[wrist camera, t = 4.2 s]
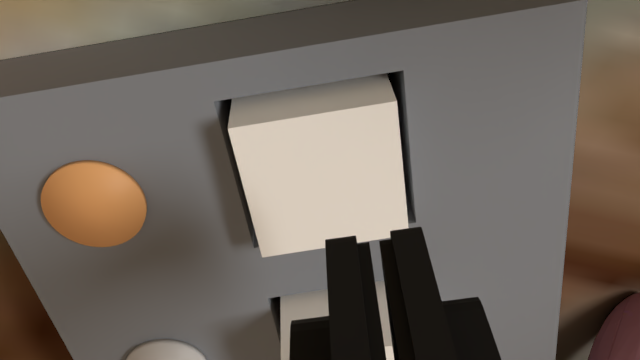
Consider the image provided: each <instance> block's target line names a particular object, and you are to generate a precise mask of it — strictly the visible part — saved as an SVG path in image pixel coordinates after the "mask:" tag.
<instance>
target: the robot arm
mask: <svg viewBox="0 0 640 360" xmlns="http://www.w3.org/2000/svg"><path fill="white" fill-rule="evenodd" d="M390 238H391V239H388V240H380V241H379V245H380V253H381V261H382V269H383V276H384V284H385V292H386V300H387V308H388V316H389V323H390V331H391V339H392V347H393V354H394V360H501V357H500V354H499V351H498V348H497V345H496V342H495V339H494V337H493V334H492V331H491V328H490V325H489V322H488V319H487V316H486V313H485V311H484V308H483V305H482V303H481V300H480V299H479V298H478V297H472V298H464V299H456V300H448V301H442V300H441V297H440V293H439V289H438V285H437V282H436V278H435V274H434V271H433V267H432V263H431V260H430V256H429V252H428V248H427V245H426V241H425V237H424V234H423V230H422V228H421V227H414V228H407V229H399V230H392V231H390ZM325 250H326V269H327V289H328V308H329V316H323V317H316V318H308V319H300V320H292V321H291V325H290V356H289V360H386V353H385V346H384V340H383V333H382V326H381V319H380V312H379V306H378V299H377V292H376V285H375V278H374V272H373V265H372V258H371V251H370V244H369V242H366V243H358V244H357V239H356V235H355V236H348V237H341V238H333V239H326V240H325Z"/></svg>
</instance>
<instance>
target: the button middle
mask: <svg viewBox="0 0 640 360" xmlns="http://www.w3.org/2000/svg"><path fill="white" fill-rule="evenodd" d="M375 285H376V292H377V299H378V306H379V312H380V319H381V326H382V333H383V340H384V346H385V353H386V360H394V354H393V347H392V339H391V331H390V323H389V316H388V308H387V300H386V292H385V284H384V281H378V282H375ZM323 316H329V308H328V289H325V290H319V291H312V292H306V293H299V294H293V295H286V296H280V317H281V360H289V356H290V325H291V321H292V320H300V319H308V318H316V317H323Z"/></svg>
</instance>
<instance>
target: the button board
mask: <svg viewBox="0 0 640 360" xmlns="http://www.w3.org/2000/svg"><path fill="white" fill-rule="evenodd" d="M587 2H588V0H354V1H348V2H342V3H336V4H330V5H324V6H318V7H312V8H307V9H301V10H295V11H289V12H283V13H277V14H271V15H265V16H259V17H253V18H248V19H242V20H236V21H230V22H224V23H218V24H212V25H206V26H200V27H194V28H189V29H183V30H177V31H171V32H165V33H159V34H153V35H147V36H141V37H135V38H130V39H124V40H118V41H112V42H106V43H100V44H94V45H88V46H82V47H76V48H71V49H65V50H59V51H53V52H47V53H41V54H35V55H29V56H23V57H17V58H12V59H6V60H0V229H1V231H2V233H3V234H4V236H5V238H6V240H7V242H8V243H9V245H10V247H11V249H12V251H13V252H14V254H15V256H16V258H17V259H18V261H19V263H20V265H21V267H22V268H23V270H24V272H25V274H26V276H27V277H28V279H29V281H30V283H31V284H32V286H33V288H34V290H35V292H36V293H37V295H38V297H39V299H40V301H41V302H42V304H43V306H44V308H45V310H46V311H47V313H48V315H49V317H50V318H51V320H52V322H53V324H54V326H55V327H56V329H57V331H58V333H59V335H60V336H61V338H62V340H63V342H64V343H65V345H66V347H67V349H68V351H69V352H70V354H71V356H72V358H73V360H281V317H280V296H286V295H293V294H299V293H306V292H312V291H319V290H325V289H327V269H326V250H325V248H321V249H314V250H308V251H301V252H295V253H289V254H282V255H276V256H269V257H263V258H262V255H261V251H260V248H259V244H258V240H257V237H256V233H255V229H254V225H253V222H252V218H251V214H250V210H249V207H248V203H247V199H246V196H245V192H244V188H243V184H242V181H241V177H240V173H239V169H238V166H237V162H236V158H235V155H234V151H233V147H232V143H231V140H230V136H229V132H228V122H229V115H230V109H231V102H232V99H233V98H239V97H245V96H251V95H257V94H263V93H269V92H275V91H281V90H287V89H293V88H299V87H305V86H311V85H318V84H324V83H330V82H336V81H342V80H348V79H354V78H360V77H366V76H372V75H378V74H384V73H391V83H392V89H393V92H394V94H395V97H396V100H397V106H398V117H399V128H400V139H401V150H402V161H403V172H404V183H405V194H406V205H407V216H408V227H409V228H414V227H421V228H422V230H423V234H424V237H425V241H426V245H427V248H428V252H429V256H430V260H431V263H432V267H433V271H434V274H435V278H436V282H437V285H438V289H439V293H440V297H441V300H442V301H448V300H456V299H464V298H472V297H478V298H479V299H480V300H481V303H482V305H483V308H484V311H485V313H486V316H487V319H488V322H489V325H490V328H491V331H492V334H493V337H494V339H495V342H496V345H497V348H498V351H499V354H500V357H501V360H555V358H556V347H557V335H558V324H559V313H560V302H561V291H562V280H563V269H564V258H565V246H566V235H567V224H568V213H569V202H570V191H571V180H572V169H573V157H574V146H575V135H576V124H577V113H578V102H579V91H580V80H581V68H582V57H583V46H584V35H585V24H586V13H587ZM388 239H391V238H385V239H379V240H372V241H366V242H369V244H370V251H371V258H372V265H373V272H374V278H375V282H378V281H384V276H383V269H382V261H381V253H380V245H379V241H380V240H388ZM366 242H359V243H366ZM357 244H358V243H357Z"/></svg>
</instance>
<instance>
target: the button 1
mask: <svg viewBox="0 0 640 360" xmlns="http://www.w3.org/2000/svg"><path fill="white" fill-rule="evenodd" d="M228 132H229V136H230V140H231V143H232V147H233V151H234V155H235V158H236V162H237V166H238V169H239V173H240V177H241V181H242V184H243V188H244V192H245V196H246V199H247V203H248V207H249V210H250V214H251V218H252V222H253V225H254V229H255V233H256V237H257V240H258V244H259V248H260V251H261V255H262V258H263V257H269V256H276V255H282V254H289V253H295V252H301V251H308V250H314V249H321V248H325V240H326V239H333V238H341V237H348V236H355V235H356V239H357V243H359V242H366V241H372V240H379V239H385V238H390V231H392V230H399V229H407V228H409V227H408V216H407V205H406V194H405V183H404V172H403V161H402V150H401V139H400V128H399V117H398V106H397V100H396V97H395V94H394V92H393V89H392V86H391V84H390V81H389V78H388V75H387V73H384V74H378V75H372V76H366V77H360V78H354V79H348V80H342V81H336V82H330V83H324V84H318V85H311V86H305V87H299V88H293V89H287V90H281V91H275V92H269V93H263V94H257V95H251V96H245V97H239V98H233V99H232V102H231V109H230V115H229V122H228Z"/></svg>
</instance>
